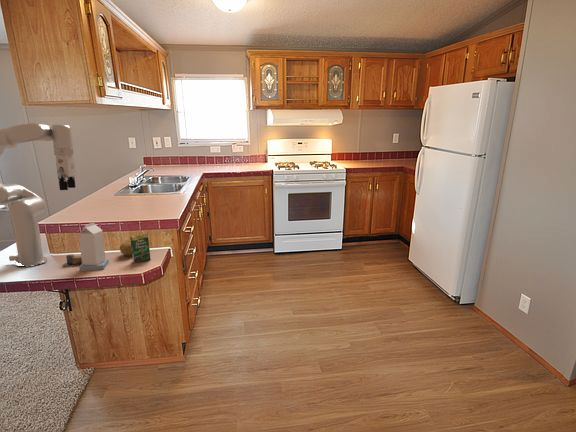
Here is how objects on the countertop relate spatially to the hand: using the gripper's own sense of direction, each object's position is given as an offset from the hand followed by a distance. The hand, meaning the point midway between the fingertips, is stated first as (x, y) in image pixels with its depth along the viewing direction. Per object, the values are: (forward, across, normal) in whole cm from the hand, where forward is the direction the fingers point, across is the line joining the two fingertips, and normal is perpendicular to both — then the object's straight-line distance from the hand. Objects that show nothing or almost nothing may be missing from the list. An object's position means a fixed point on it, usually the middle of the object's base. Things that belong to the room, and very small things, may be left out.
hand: (67, 188), depth 160 cm
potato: (+36, +6, -24) cm, 44 cm away
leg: (+36, -4, -5) cm, 36 cm away
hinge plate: (+36, -4, +1) cm, 36 cm away
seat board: (+36, -10, -11) cm, 39 cm away
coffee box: (+36, -6, -31) cm, 48 cm away
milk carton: (+34, -10, -11) cm, 37 cm away
